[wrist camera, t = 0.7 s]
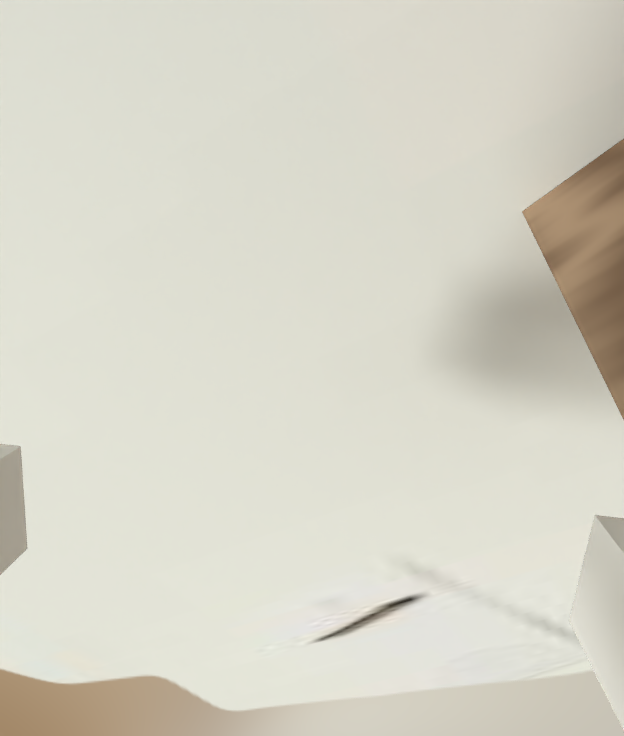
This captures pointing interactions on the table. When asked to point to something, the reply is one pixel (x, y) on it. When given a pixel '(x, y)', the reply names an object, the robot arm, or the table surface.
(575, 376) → the table surface
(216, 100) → the table surface
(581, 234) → the walnut stand
